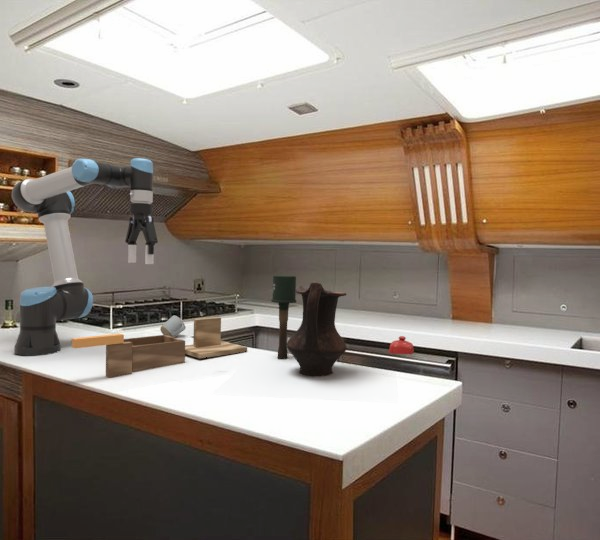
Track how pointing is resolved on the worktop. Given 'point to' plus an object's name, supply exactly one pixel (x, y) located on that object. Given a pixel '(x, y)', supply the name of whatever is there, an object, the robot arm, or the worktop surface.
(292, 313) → the worktop surface
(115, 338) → the orange rectangular block
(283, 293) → the stick grenade
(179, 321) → the ceramic mug
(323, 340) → the jug
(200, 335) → the lid
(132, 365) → the open wooden box
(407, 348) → the butter dish
